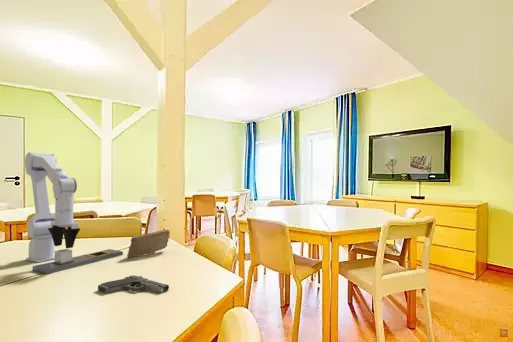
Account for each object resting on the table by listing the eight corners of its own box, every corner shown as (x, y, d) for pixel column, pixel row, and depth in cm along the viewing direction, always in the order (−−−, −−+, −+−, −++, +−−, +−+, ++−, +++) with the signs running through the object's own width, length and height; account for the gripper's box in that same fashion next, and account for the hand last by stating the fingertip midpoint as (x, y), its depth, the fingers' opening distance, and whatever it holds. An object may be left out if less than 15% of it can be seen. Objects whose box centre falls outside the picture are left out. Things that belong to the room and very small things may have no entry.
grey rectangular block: (54, 267, 109) (54, 250, 109) (65, 264, 112) (66, 248, 113) (60, 268, 107) (60, 251, 107) (71, 266, 111) (72, 249, 111)
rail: (32, 270, 105) (32, 265, 105) (109, 252, 131) (109, 248, 131) (45, 274, 101) (46, 269, 101) (122, 254, 127) (122, 250, 127)
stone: (125, 257, 123) (129, 261, 120) (125, 236, 122) (129, 238, 119) (166, 247, 136) (170, 250, 133) (167, 227, 135) (171, 230, 132)
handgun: (134, 296, 76) (170, 282, 86) (97, 283, 86) (134, 272, 96) (134, 306, 76) (170, 291, 86) (97, 292, 86) (134, 280, 96)
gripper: (42, 210, 110) (41, 246, 110) (64, 212, 104) (63, 251, 103) (62, 208, 117) (61, 243, 116) (83, 210, 110) (83, 247, 109)
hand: (63, 246), depth 110 cm, fingers open, 7 cm apart
